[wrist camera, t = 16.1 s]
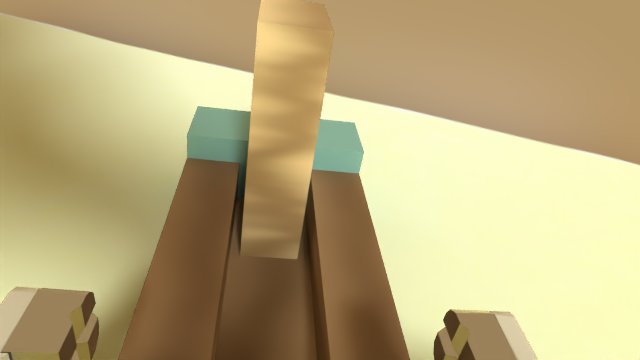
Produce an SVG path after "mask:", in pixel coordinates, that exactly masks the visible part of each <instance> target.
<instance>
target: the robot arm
mask: <svg viewBox="0 0 640 360" xmlns="http://www.w3.org/2000/svg"><path fill="white" fill-rule="evenodd" d="M95 304H96V303H95V298H94V293H92V292H88V291H74V290H61V289H48V288H29V287H15V288H14V289H13V290H11V291H10V292H9V293H8V295H7V296H6V298H5V299H4V301H3V302H2V304H1V305H0V360H92V357H93V354H94V352H95V349H96V345H97V340H98V335H99V323H98V317H96V316H95V315H94V314H93V313H92V311H93V308H94V306H95ZM443 321H444V324H445V326H446V327H445V328H443V329H442V330H440V331H439V332H438V333H437V336H436V338H435V341H434V359H435V360H538V359H537V357H536V355H535V353H534V351H533V349H532V348H531V346H530V344H529V342H528V340H527V339H526V337H525V335H524V333H523V331H522V330H521V328H520V326H519V324H518V322H517V321H516V319H515V317H514V315H512V314H511V313H510V312H497V311H489V312H488V311H478V310H452V309H450V310H449V311H448V312H447V313H446V315H445V317H444V319H443Z"/></svg>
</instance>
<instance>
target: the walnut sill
mask: <svg viewBox="0 0 640 360" xmlns="http://www.w3.org/2000/svg"><path fill="white" fill-rule="evenodd" d="M250 118H251V112H247V111H238V110H228V109H219V108H210V107H200V106H198V107H197V110H196V113H195V115H194V118H193V121H192V123H191V126H190V129H189V131H188V134H187V160H186V163H185V166H184V169H183V172H182V175H181V178H180V181H179V184H178V187H177V189H176V192H175V195H174V198H173V201H172V204H171V207H170V210H169V213H168V216H167V219H166V222H165V224H164V227H163V230H162V233H161V236H160V239H159V242H158V245H157V248H156V251H155V254H154V257H153V259H152V262H151V265H150V268H149V271H148V274H147V277H146V280H145V283H144V286H143V289H142V292H141V295H140V297H139V300H138V303H137V306H136V309H135V312H134V315H133V318H132V321H131V324H130V327H129V330H128V332H127V335H126V338H125V341H124V344H123V347H122V350H121V353H120V356H119V359H118V360H410V358H409V354H408V351H407V347H406V343H405V340H404V336H403V333H402V329H401V325H400V322H399V318H398V314H397V311H396V307H395V303H394V300H393V296H392V292H391V289H390V285H389V281H388V278H387V274H386V271H385V267H384V263H383V260H382V256H381V252H380V249H379V245H378V241H377V238H376V234H375V230H374V227H373V223H372V220H371V216H370V212H369V209H368V205H367V201H366V198H365V194H364V190H363V187H362V183H361V179H360V176H359V171H360V166H361V162H362V158H363V153H364V151H363V148H362V145H361V142H360V139H359V135H358V132H357V129H356V126H355V123H351V122H341V121H332V120H322V119H320V122H319V129H318V135H317V141H316V147H315V153H314V159H313V165H312V171H311V178H310V184H309V190H308V196H307V202H306V208H305V214H304V221H303V227H302V233H301V239H300V245H299V251H298V257H297V259H286V258H270V257H254V256H240V251H241V238H242V224H243V211H244V198H245V185H246V171H247V158H248V145H249V132H250Z"/></svg>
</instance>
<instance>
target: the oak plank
mask: <svg viewBox="0 0 640 360" xmlns="http://www.w3.org/2000/svg"><path fill="white" fill-rule="evenodd" d="M333 36H334V29H333V27H332V24H331V21H330V18H329V16H328V13H327V11H326V8H325V5H324V4H319V3H312V2H305V1H298V0H261V6H260V12H259V18H258V26H257V39H256V52H255V66H254V79H253V92H252V105H251V118H250V132H249V145H248V158H247V171H246V185H245V198H244V211H243V224H242V238H241V251H240V256H254V257H270V258H286V259H297V257H298V251H299V245H300V239H301V233H302V227H303V221H304V214H305V208H306V202H307V196H308V190H309V184H310V178H311V171H312V165H313V159H314V153H315V147H316V141H317V135H318V129H319V122H320V116H321V110H322V104H323V98H324V92H325V85H326V80H327V73H328V67H329V61H330V55H331V49H332V43H333Z"/></svg>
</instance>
